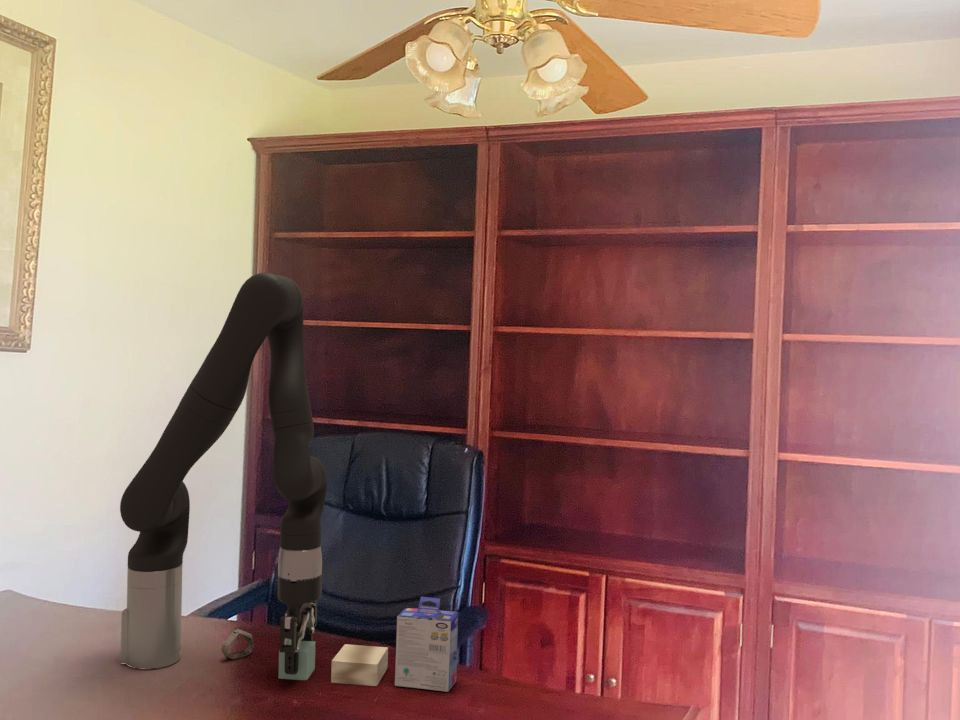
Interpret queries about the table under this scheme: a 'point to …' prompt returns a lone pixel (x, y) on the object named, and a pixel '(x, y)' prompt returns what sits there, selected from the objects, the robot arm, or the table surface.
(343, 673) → the ash block
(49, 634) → the table surface
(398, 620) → the ink cartridge box
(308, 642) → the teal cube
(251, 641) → the wristwatch
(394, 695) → the table surface
